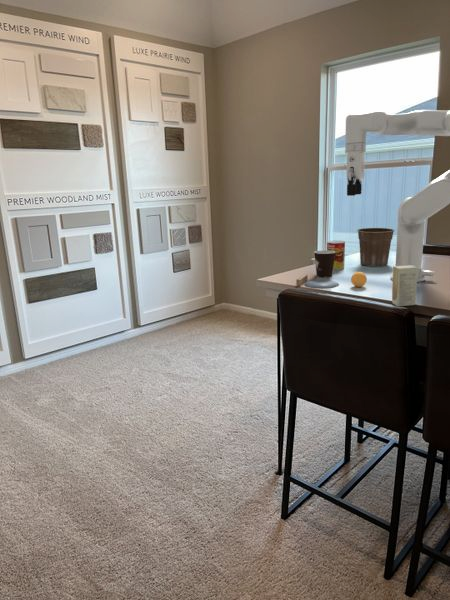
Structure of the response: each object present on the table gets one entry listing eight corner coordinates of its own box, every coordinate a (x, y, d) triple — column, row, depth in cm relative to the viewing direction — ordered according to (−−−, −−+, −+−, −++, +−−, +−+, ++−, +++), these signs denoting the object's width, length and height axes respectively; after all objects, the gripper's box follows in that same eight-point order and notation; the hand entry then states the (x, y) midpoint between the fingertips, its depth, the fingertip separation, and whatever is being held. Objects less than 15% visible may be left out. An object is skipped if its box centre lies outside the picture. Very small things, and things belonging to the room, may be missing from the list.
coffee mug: (335, 277, 185) (335, 253, 182) (313, 277, 187) (314, 253, 184) (334, 272, 196) (334, 249, 193) (314, 272, 198) (314, 249, 195)
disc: (342, 281, 177) (342, 281, 177) (334, 289, 166) (334, 288, 166) (309, 279, 183) (309, 279, 183) (300, 286, 172) (300, 286, 171)
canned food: (324, 267, 208) (324, 241, 205) (340, 266, 209) (341, 240, 206) (329, 270, 201) (330, 243, 198) (346, 269, 201) (347, 242, 198)
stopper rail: (307, 280, 182) (307, 274, 181) (300, 286, 173) (300, 279, 172) (304, 280, 182) (304, 274, 182) (296, 285, 174) (296, 279, 173)
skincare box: (410, 301, 145) (412, 264, 142) (416, 305, 141) (418, 267, 138) (390, 302, 145) (392, 265, 142) (395, 306, 141) (398, 268, 138)
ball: (367, 285, 169) (368, 271, 168) (365, 288, 164) (365, 273, 163) (352, 284, 172) (352, 270, 170) (349, 287, 167) (349, 273, 166)
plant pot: (395, 267, 200) (397, 231, 196) (358, 268, 203) (359, 232, 199) (388, 261, 216) (390, 227, 212) (354, 261, 218) (355, 228, 214)
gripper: (360, 146, 162) (359, 195, 166) (370, 148, 176) (368, 193, 181) (339, 148, 165) (338, 196, 170) (350, 150, 180) (349, 194, 184)
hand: (354, 194), depth 175 cm, fingers open, 9 cm apart
